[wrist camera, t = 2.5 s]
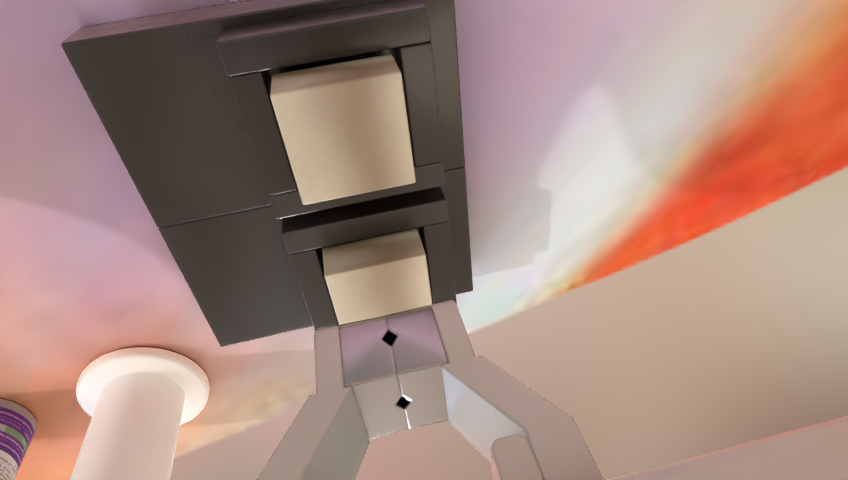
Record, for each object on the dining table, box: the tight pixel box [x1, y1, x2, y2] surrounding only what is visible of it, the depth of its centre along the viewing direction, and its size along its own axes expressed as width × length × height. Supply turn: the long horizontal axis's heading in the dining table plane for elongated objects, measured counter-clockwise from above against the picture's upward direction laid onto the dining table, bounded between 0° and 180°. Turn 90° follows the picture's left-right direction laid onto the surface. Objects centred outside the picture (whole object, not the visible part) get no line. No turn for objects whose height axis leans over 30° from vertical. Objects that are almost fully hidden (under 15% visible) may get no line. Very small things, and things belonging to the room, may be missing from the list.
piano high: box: [61, 0, 465, 227], centre depth 21 cm, size 14×8×4 cm, turn 96°
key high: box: [270, 54, 416, 205], centre depth 19 cm, size 4×4×2 cm
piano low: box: [159, 167, 473, 347], centre depth 26 cm, size 14×8×4 cm, turn 96°
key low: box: [322, 229, 432, 325], centre depth 24 cm, size 4×4×2 cm
